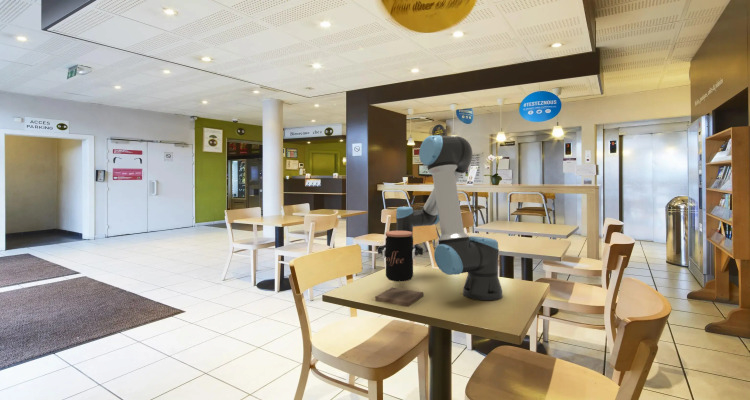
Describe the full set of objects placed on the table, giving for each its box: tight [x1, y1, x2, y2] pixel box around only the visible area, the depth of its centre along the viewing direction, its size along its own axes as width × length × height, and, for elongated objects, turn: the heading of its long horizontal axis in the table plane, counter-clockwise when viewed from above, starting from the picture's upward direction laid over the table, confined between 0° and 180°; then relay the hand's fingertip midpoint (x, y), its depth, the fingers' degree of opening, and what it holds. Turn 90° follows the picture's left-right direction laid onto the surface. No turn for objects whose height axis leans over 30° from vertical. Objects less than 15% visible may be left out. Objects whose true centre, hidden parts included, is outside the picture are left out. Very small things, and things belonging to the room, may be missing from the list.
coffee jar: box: [385, 230, 414, 282], centre depth 149 cm, size 11×11×18 cm
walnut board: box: [374, 287, 424, 307], centre depth 150 cm, size 14×14×2 cm
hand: (398, 255), depth 145 cm, fingers closed on coffee jar, 11 cm apart
